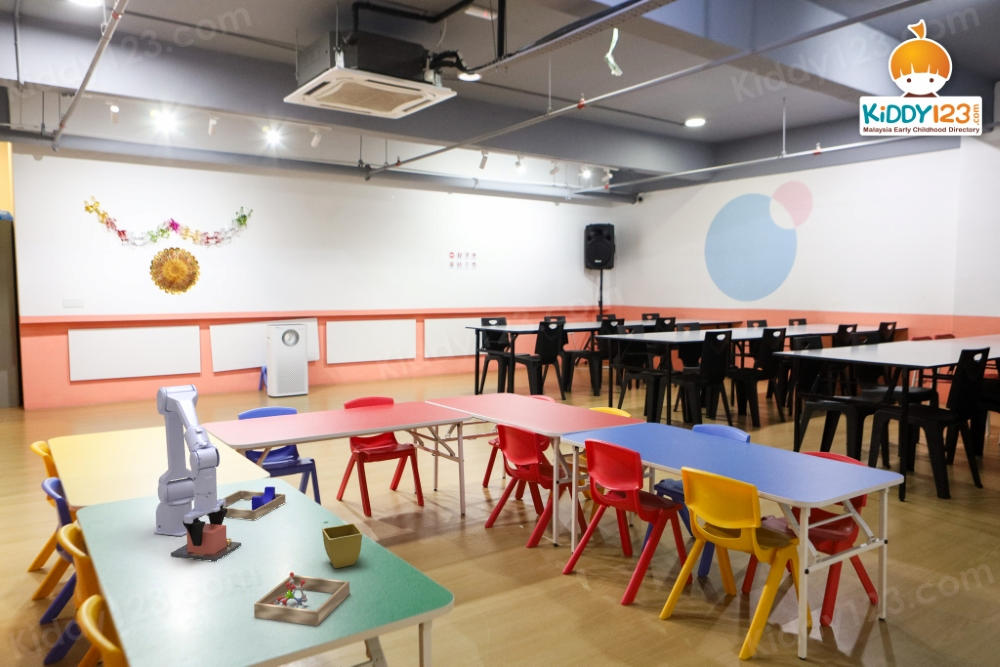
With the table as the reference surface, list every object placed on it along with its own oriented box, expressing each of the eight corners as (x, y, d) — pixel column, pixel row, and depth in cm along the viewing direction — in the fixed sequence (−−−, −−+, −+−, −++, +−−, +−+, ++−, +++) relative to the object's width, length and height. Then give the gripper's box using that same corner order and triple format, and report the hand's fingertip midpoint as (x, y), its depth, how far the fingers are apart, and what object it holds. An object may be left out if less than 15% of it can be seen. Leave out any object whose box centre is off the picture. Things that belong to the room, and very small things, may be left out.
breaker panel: (170, 556, 178) (170, 548, 178) (198, 541, 189) (198, 533, 188) (215, 561, 175) (215, 553, 175) (241, 546, 185) (241, 538, 185)
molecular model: (296, 597, 155) (296, 567, 155) (313, 610, 150) (312, 578, 149) (267, 607, 150) (267, 576, 150) (282, 620, 145) (282, 587, 144)
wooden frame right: (254, 617, 146) (254, 604, 146) (291, 586, 161) (291, 574, 161) (317, 625, 142) (317, 612, 142) (349, 593, 157) (349, 581, 157)
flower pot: (329, 573, 168) (329, 539, 168) (321, 560, 176) (321, 528, 175) (363, 566, 172) (362, 533, 172) (354, 554, 180) (354, 522, 180)
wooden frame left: (206, 515, 210) (206, 506, 209) (240, 498, 226) (240, 490, 226) (254, 520, 206) (254, 511, 205) (285, 503, 222) (285, 494, 222)
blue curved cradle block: (262, 503, 222) (261, 486, 222) (275, 504, 222) (275, 486, 222) (247, 516, 210) (246, 497, 210) (261, 516, 210) (260, 498, 210)
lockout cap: (187, 551, 178) (186, 530, 178) (201, 543, 184) (201, 522, 184) (212, 554, 177) (212, 532, 176) (226, 546, 182) (226, 525, 182)
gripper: (200, 501, 171) (201, 551, 172) (234, 485, 185) (235, 531, 186) (176, 498, 173) (178, 549, 174) (213, 483, 187) (214, 529, 188)
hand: (206, 540), depth 180 cm, fingers open, 7 cm apart
